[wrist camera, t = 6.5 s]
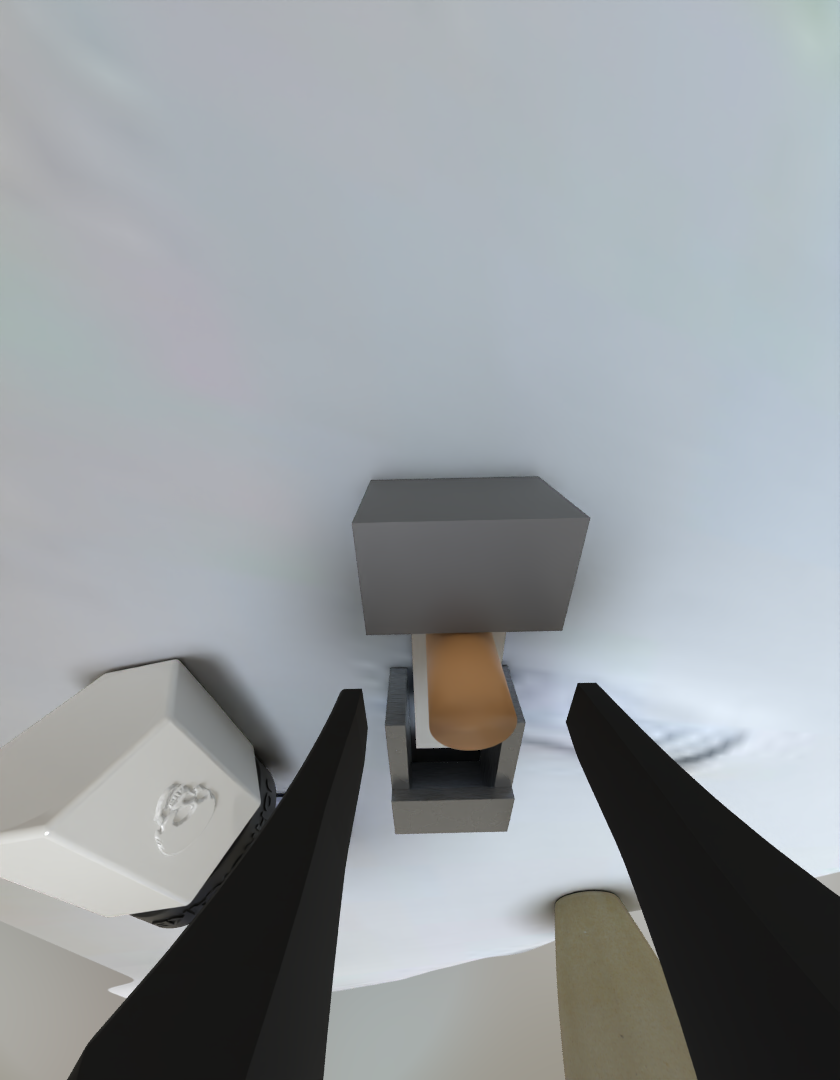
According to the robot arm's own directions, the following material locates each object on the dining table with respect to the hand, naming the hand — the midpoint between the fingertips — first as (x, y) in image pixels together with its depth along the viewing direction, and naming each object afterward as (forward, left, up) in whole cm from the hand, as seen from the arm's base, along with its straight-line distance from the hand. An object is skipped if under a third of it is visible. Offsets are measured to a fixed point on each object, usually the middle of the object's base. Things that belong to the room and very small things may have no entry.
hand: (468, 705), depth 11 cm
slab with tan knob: (-1, 0, -6) cm, 6 cm away
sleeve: (-10, 0, -6) cm, 12 cm away
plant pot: (-45, -17, -7) cm, 49 cm away
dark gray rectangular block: (+5, 0, -6) cm, 8 cm away
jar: (-4, +18, -2) cm, 18 cm away
